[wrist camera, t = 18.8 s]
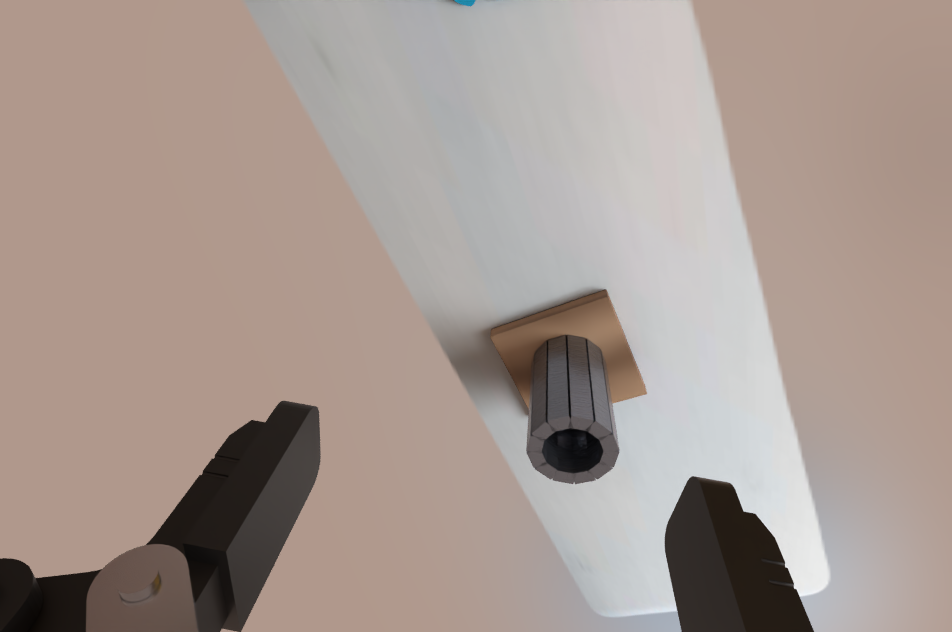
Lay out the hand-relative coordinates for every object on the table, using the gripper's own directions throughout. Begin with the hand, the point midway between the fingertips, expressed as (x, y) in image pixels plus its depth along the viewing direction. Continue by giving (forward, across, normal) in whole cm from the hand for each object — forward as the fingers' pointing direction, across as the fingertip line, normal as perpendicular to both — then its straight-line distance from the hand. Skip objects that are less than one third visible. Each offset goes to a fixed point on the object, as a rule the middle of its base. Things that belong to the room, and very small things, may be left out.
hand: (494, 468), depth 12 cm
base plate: (+30, -6, +17) cm, 35 cm away
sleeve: (+29, -6, +17) cm, 34 cm away
